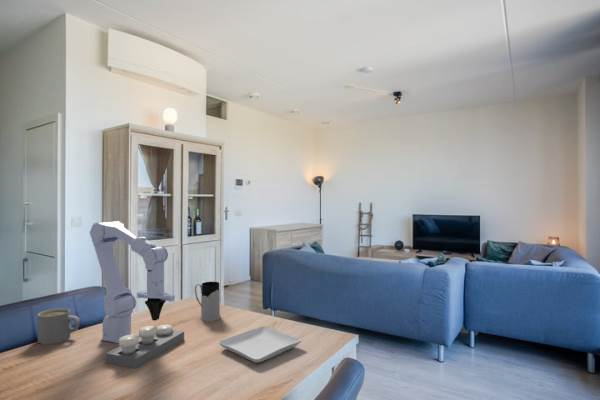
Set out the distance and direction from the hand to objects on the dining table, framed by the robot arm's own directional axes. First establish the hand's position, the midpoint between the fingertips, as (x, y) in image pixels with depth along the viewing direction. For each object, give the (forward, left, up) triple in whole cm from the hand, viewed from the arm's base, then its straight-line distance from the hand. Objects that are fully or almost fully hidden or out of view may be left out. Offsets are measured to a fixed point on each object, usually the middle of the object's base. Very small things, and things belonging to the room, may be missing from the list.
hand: (155, 319), depth 129 cm
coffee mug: (-38, -7, -10) cm, 40 cm away
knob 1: (0, -12, -7) cm, 14 cm away
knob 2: (0, -4, -7) cm, 8 cm away
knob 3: (0, +5, -10) cm, 11 cm away
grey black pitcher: (-1, +33, -10) cm, 35 cm away
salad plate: (+36, +10, -10) cm, 39 cm away
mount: (0, -4, -9) cm, 10 cm away
